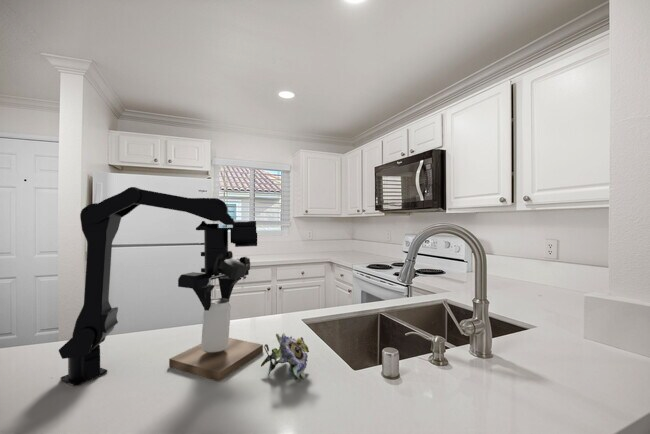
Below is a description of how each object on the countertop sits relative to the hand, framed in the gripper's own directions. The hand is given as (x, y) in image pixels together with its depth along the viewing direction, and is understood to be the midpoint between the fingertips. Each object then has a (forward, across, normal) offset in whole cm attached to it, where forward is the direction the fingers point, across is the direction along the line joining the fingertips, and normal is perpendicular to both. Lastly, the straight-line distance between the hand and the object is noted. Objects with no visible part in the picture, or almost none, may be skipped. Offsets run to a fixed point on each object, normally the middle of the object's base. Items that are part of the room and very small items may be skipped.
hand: (216, 308), depth 76 cm
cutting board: (+13, 0, 0) cm, 13 cm away
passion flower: (+14, +1, -20) cm, 24 cm away
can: (+10, -1, 0) cm, 10 cm away
